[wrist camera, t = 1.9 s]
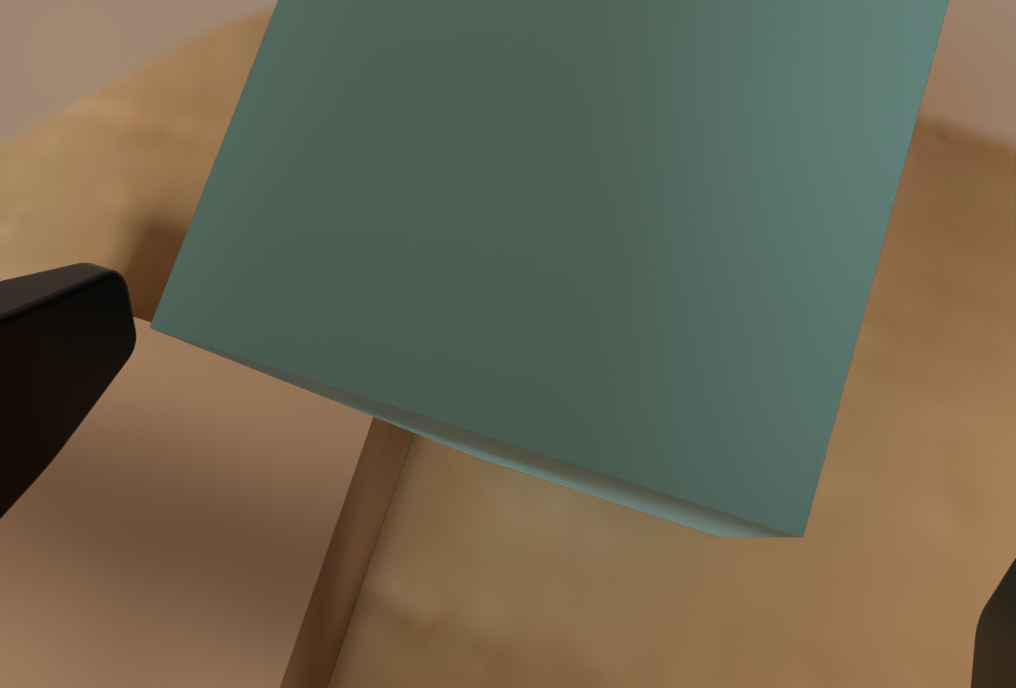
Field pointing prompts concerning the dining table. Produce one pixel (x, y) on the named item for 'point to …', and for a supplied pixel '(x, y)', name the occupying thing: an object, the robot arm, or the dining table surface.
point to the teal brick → (568, 231)
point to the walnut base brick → (195, 532)
